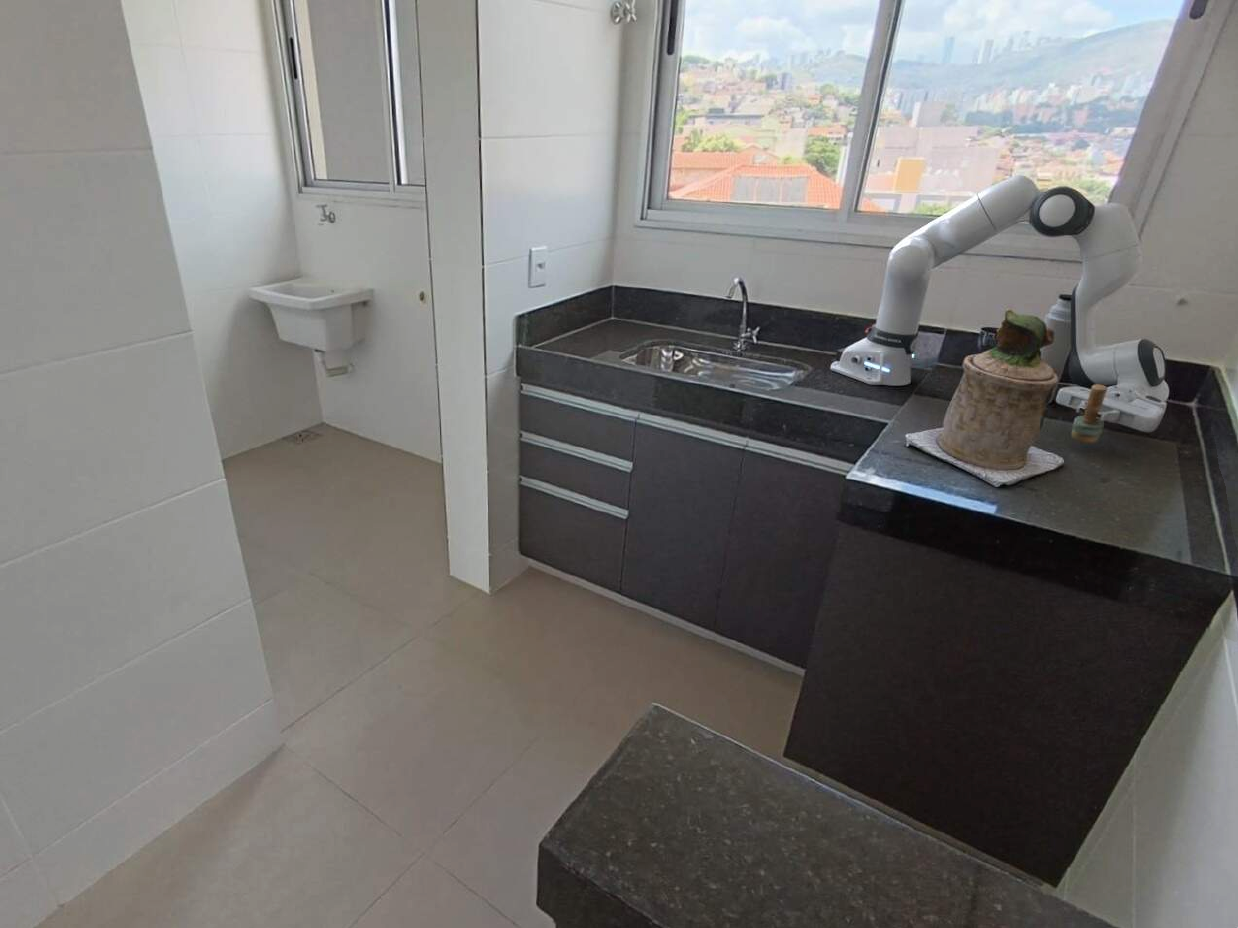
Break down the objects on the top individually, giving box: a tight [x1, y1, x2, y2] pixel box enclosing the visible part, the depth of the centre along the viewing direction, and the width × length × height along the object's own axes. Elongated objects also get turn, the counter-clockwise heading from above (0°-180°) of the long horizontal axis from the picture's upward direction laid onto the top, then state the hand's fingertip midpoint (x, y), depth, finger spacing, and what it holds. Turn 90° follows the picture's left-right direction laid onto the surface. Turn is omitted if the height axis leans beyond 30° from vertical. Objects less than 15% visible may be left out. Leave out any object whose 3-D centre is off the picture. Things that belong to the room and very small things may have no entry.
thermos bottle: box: [1040, 293, 1072, 404], centre depth 179 cm, size 8×8×28 cm
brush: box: [1070, 384, 1108, 444], centre depth 150 cm, size 6×6×12 cm
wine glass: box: [977, 326, 1000, 354], centre depth 192 cm, size 8×8×15 cm
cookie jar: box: [904, 308, 1065, 488], centre depth 143 cm, size 25×25×32 cm
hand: (1089, 413), depth 150 cm, fingers closed on brush, 3 cm apart
